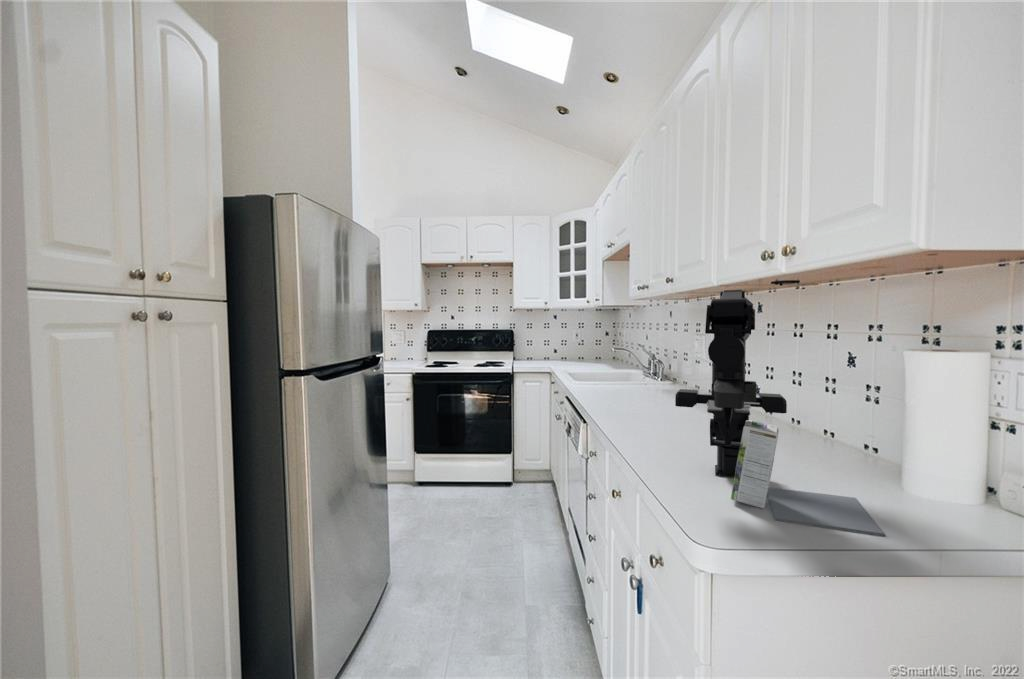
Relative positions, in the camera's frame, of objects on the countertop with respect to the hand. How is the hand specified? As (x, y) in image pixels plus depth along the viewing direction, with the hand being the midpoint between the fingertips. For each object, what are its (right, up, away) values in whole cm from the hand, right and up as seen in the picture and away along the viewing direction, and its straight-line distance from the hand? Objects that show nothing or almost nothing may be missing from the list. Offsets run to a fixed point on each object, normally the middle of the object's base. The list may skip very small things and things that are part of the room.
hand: (727, 445), depth 87 cm
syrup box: (+3, -10, -1) cm, 11 cm away
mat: (+14, -10, -5) cm, 18 cm away
